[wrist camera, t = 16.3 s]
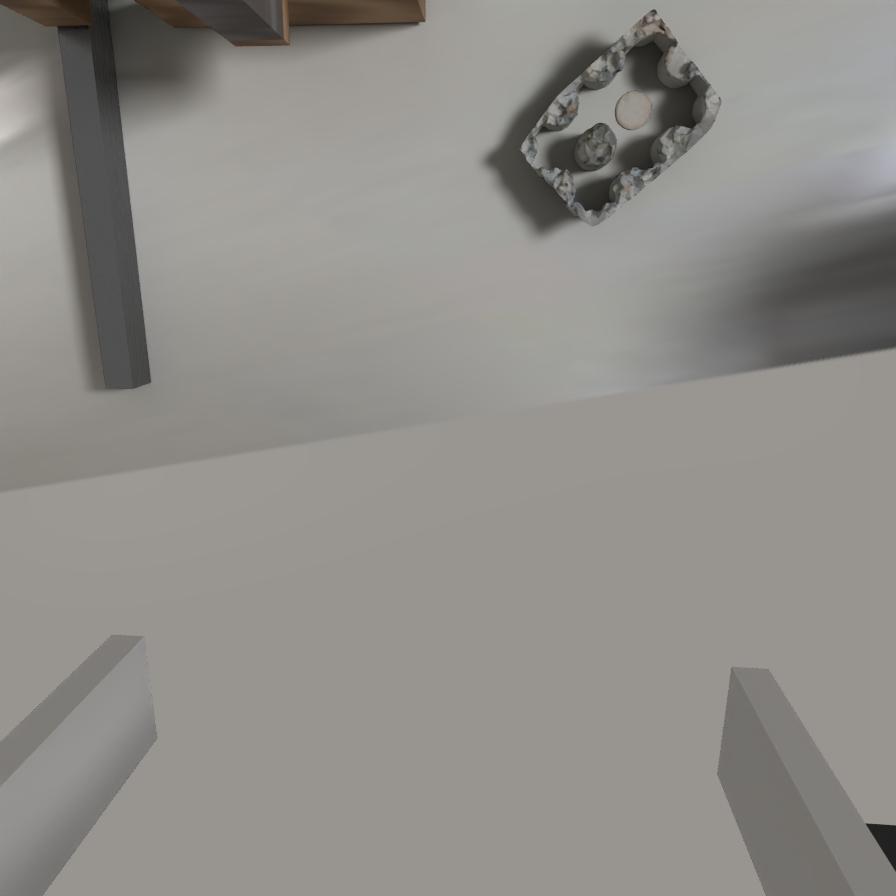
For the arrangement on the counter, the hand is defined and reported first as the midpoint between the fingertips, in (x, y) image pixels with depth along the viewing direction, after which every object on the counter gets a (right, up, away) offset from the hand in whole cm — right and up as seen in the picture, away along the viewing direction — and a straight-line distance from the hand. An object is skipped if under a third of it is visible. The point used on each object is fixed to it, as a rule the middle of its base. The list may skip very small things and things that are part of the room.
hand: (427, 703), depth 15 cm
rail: (-22, +25, +31) cm, 46 cm away
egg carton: (+11, +26, +28) cm, 40 cm away
